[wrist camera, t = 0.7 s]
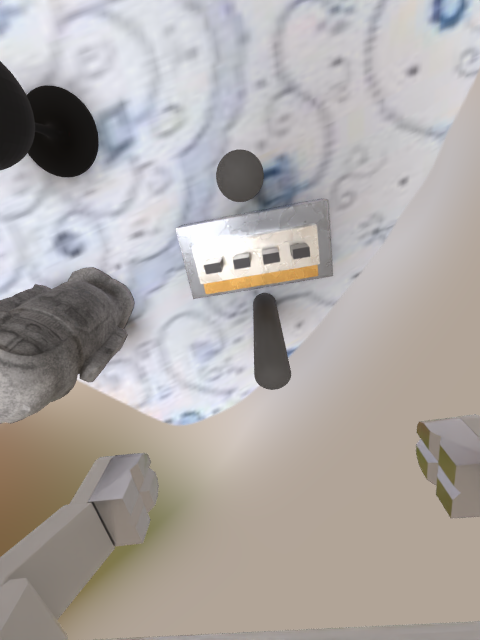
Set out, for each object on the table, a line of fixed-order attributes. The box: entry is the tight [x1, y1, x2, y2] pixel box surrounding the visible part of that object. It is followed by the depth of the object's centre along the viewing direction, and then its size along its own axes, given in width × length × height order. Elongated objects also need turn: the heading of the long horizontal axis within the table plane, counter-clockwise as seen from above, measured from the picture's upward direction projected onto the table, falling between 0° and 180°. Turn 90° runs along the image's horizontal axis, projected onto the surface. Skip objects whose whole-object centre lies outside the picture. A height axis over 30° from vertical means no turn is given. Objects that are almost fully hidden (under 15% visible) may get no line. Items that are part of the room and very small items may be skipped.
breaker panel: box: [176, 199, 333, 299], centre depth 42 cm, size 10×20×6 cm, turn 100°
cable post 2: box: [253, 293, 291, 390], centre depth 39 cm, size 4×4×20 cm
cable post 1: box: [216, 150, 264, 202], centre depth 32 cm, size 4×4×20 cm
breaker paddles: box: [204, 243, 310, 274], centre depth 38 cm, size 1×13×3 cm, turn 101°
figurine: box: [0, 268, 134, 423], centre depth 38 cm, size 10×14×25 cm
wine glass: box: [0, 62, 98, 177], centre depth 31 cm, size 10×10×20 cm
